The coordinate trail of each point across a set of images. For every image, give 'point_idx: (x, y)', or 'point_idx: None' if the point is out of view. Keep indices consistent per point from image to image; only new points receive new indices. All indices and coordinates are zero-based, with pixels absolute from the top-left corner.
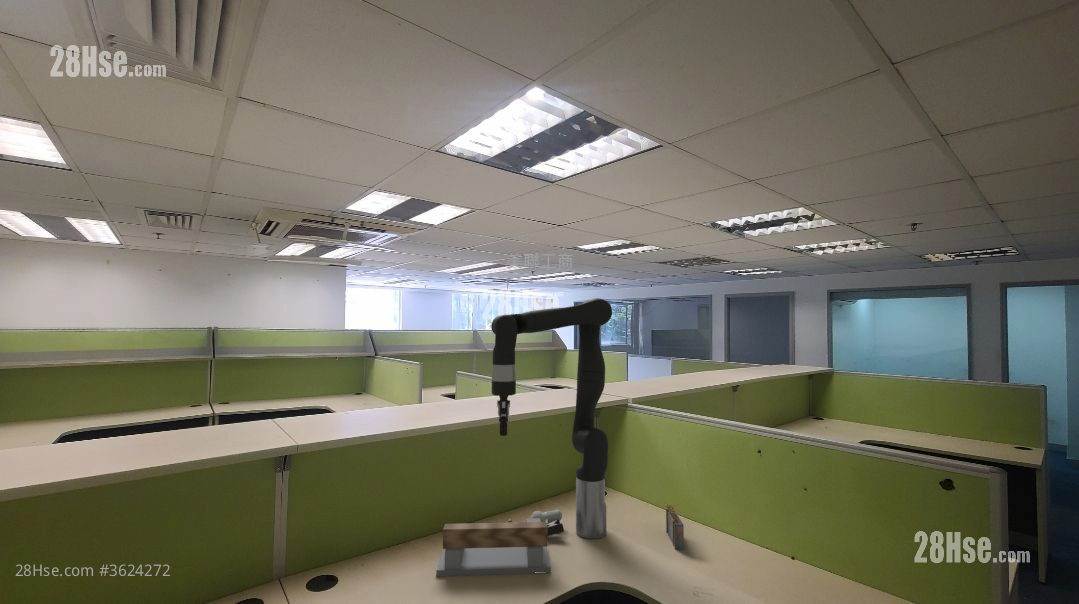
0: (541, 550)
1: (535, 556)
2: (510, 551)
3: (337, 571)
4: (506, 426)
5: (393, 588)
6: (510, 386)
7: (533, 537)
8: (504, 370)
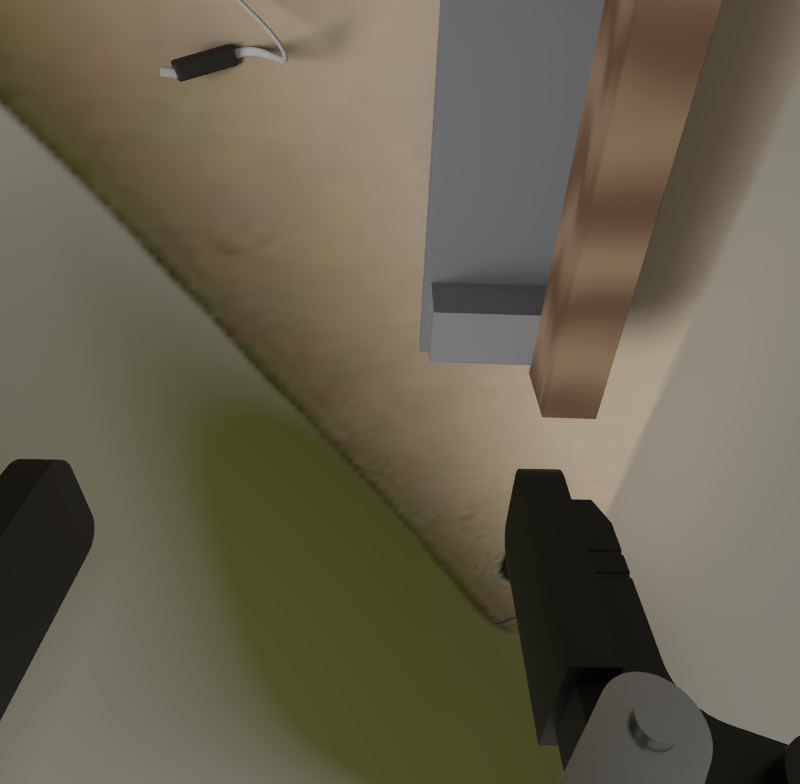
0: None
1: None
2: (505, 79)
3: (491, 552)
4: (599, 604)
5: (608, 437)
6: None
7: None
8: None
